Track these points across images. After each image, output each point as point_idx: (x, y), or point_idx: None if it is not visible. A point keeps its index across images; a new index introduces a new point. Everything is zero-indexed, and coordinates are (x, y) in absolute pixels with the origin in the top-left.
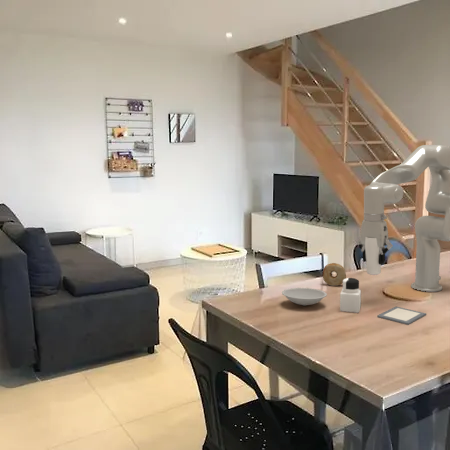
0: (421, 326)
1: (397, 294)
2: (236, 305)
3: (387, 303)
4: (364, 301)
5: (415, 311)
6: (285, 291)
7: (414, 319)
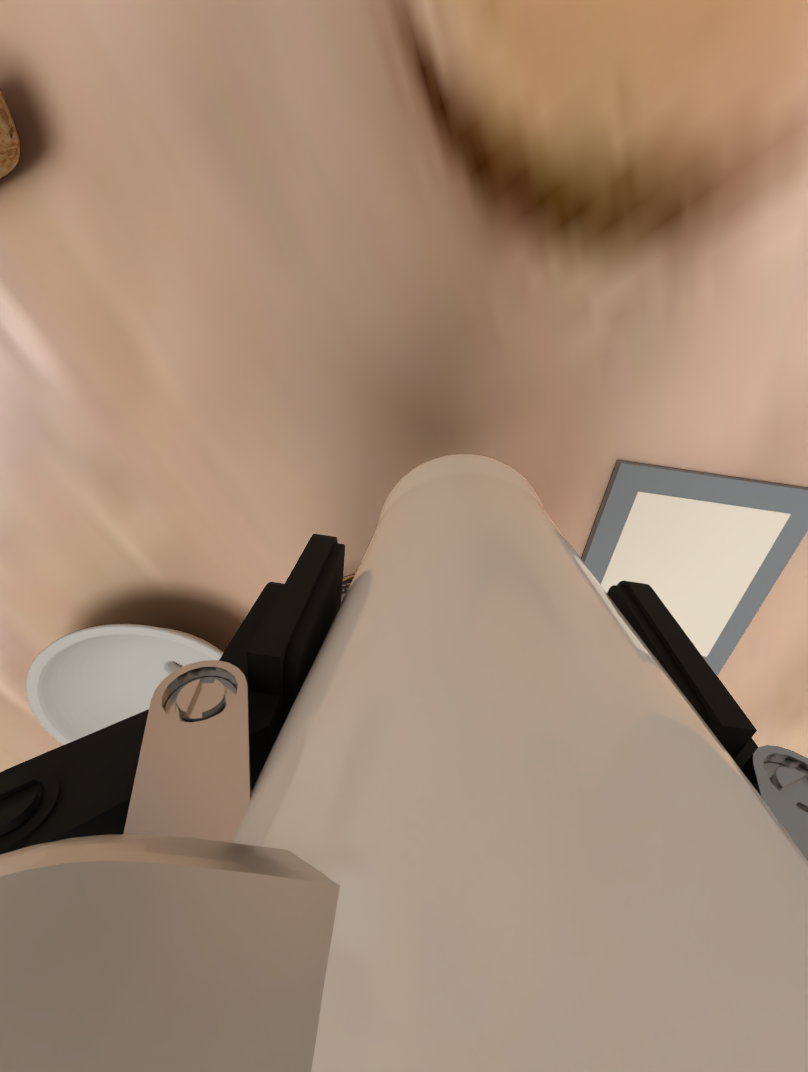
0: (779, 657)
1: (568, 50)
2: (5, 769)
3: (545, 397)
4: (394, 443)
5: (758, 493)
6: (52, 719)
7: (749, 618)
